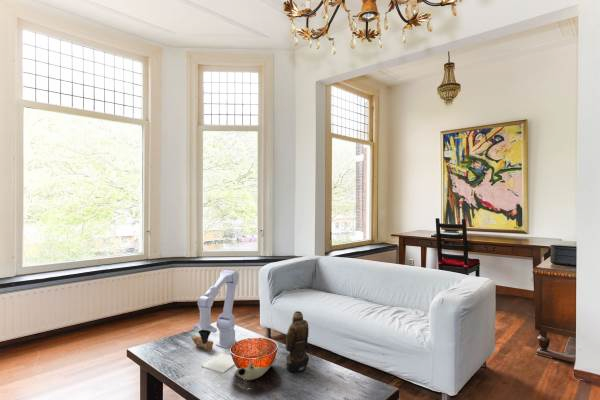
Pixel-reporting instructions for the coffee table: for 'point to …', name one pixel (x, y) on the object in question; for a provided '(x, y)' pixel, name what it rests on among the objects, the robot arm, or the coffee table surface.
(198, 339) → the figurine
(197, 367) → the coffee table surface
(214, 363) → the felt mat
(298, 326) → the sculpture
